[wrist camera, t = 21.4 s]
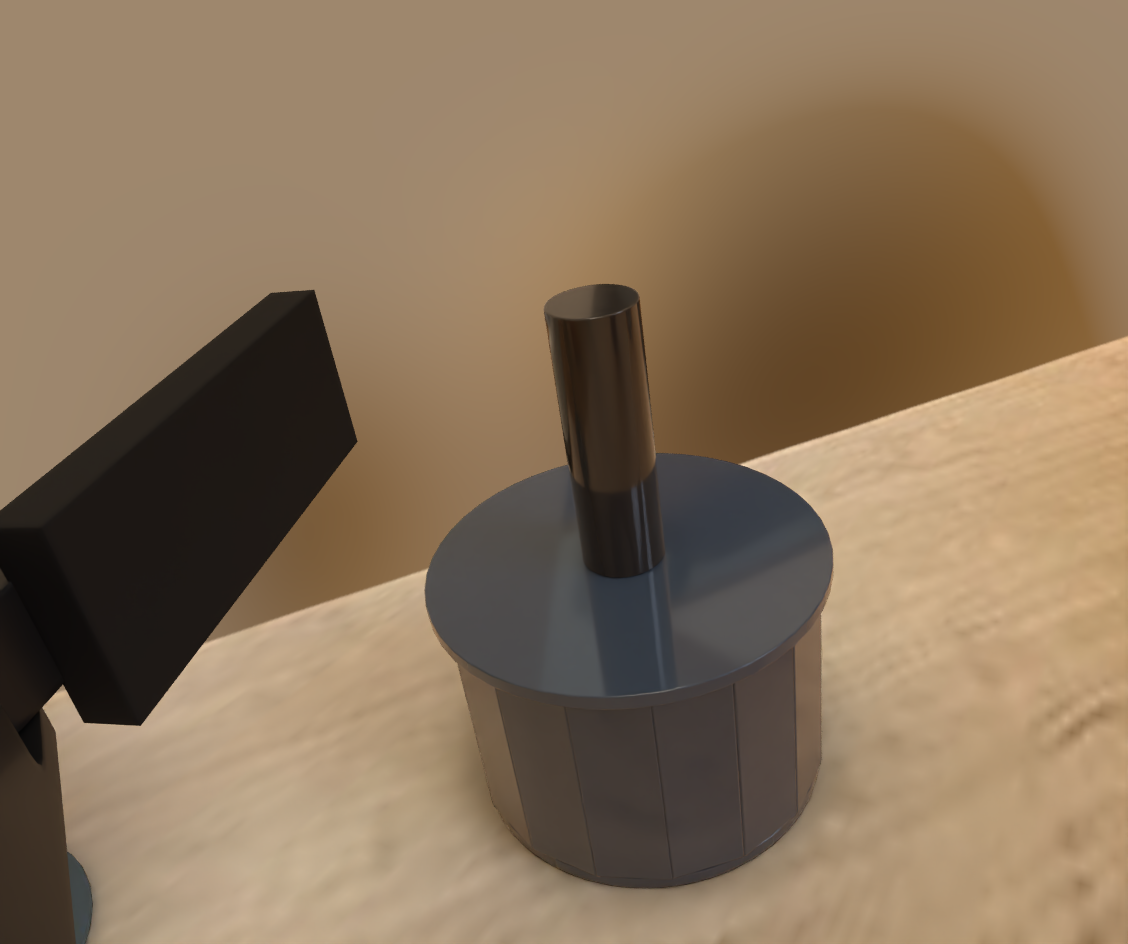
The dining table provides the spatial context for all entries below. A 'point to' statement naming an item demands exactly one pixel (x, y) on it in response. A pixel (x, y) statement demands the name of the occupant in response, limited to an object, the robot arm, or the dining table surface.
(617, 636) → the lid
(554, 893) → the dining table surface
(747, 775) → the canister
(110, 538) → the robot arm
